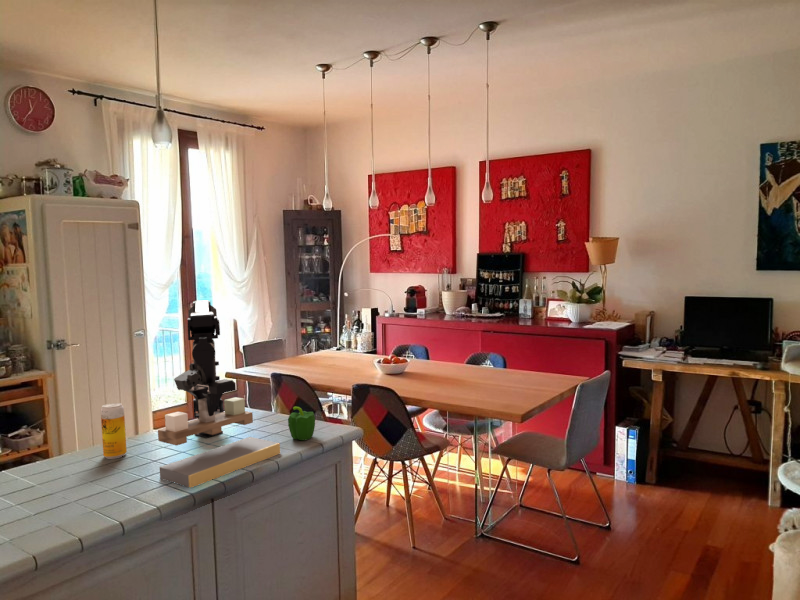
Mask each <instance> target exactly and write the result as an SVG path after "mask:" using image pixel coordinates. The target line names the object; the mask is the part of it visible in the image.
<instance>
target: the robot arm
mask: <svg viewBox="0 0 800 600" xmlns="http://www.w3.org/2000/svg"><path fill="white" fill-rule="evenodd" d="M192 304H193V306H192V307H190V308H189V309H188V318H187V340H188V341H192V351H191V354H192V355H191V356H192V359H193V362H192V363H189V366H188V367H189V369H188V370H186V371H184V372H182V373H181V374H179V375H178V376H176V377H174V378H173V381H174V383H175V385H176V388H177V390H178V391H181V390H182V391H183V392H187V393H189V394H190V395H192V396H193V399H192V402H193V405H192V407H193V419H199V405H198V400H199V399H203V398H206V399H207V407H208V413H209V416H213V414H214V412H215V414H218V413H222V412H224V400H223V399H222V397H223V395H224V394H226V393H229V392H234V391H237V390H236V389H237V386H236V382H235V380H233V379H221V378H220V375H217V366H220V363H219V361H218V360H216V346H215V344H216V343H215V341H214V340H215V339H219V336H220V335H221V327H220V320H219V319H218V316H217V309H216V308H215V307H214V306H213V305H212V304H211V300H208V299H207V300H195V301H193V303H192ZM223 433H224V431H223V430H222V432H220V433H217V434H213V435H211V434H207V433H202V432H201V433H198V434H195V435H194V436H199V437H203V438H210V437H214V436H217V435H220V434H223Z"/></svg>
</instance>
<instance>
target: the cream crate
mask: <svg viewBox="0 0 800 600" xmlns="http://www.w3.org/2000/svg"><path fill="white" fill-rule="evenodd" d="M164 421H165V423H164V424H165V428H166V430H168V431H173V432H176V431H180V430H184V429H187V428H188V421H189V416H188V412H184V411H183V412H182V411H174V412H171V413H167V414H164Z"/></svg>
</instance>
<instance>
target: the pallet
mask: <svg viewBox="0 0 800 600" xmlns="http://www.w3.org/2000/svg"><path fill="white" fill-rule="evenodd" d="M198 405H199V419H198V418H195V419H194V420H193V419H192V420H190V421H189V420H188V428H187V429H184V430H180V431H176V432H173V431H168V430H166V427H163V428H159V429H157V437H158V442H161V443H166V444H169V445H172V446H176V447H177V446H180V445H183V444H187V443H188V438H189V437H191V436H196V435H195V434H198V433H201V432H202V433H207V434H211V435H213V434H217V433H220V432H222V431H223V429H222V427H225V426H228V425H232V424H238V425H241V426H247V425H250V424H253V423H254V418H253V415H254V414H253V412H252V411H247V410H245V412H244V413H241V414H237V415H229V414H225V411H223V412H222V413H218V414H215V412H214V414H213V416H209V413H208V407H207V399H206V398H203V399H199V400H198ZM220 434H221V433H220ZM217 435H218V434H217Z"/></svg>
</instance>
